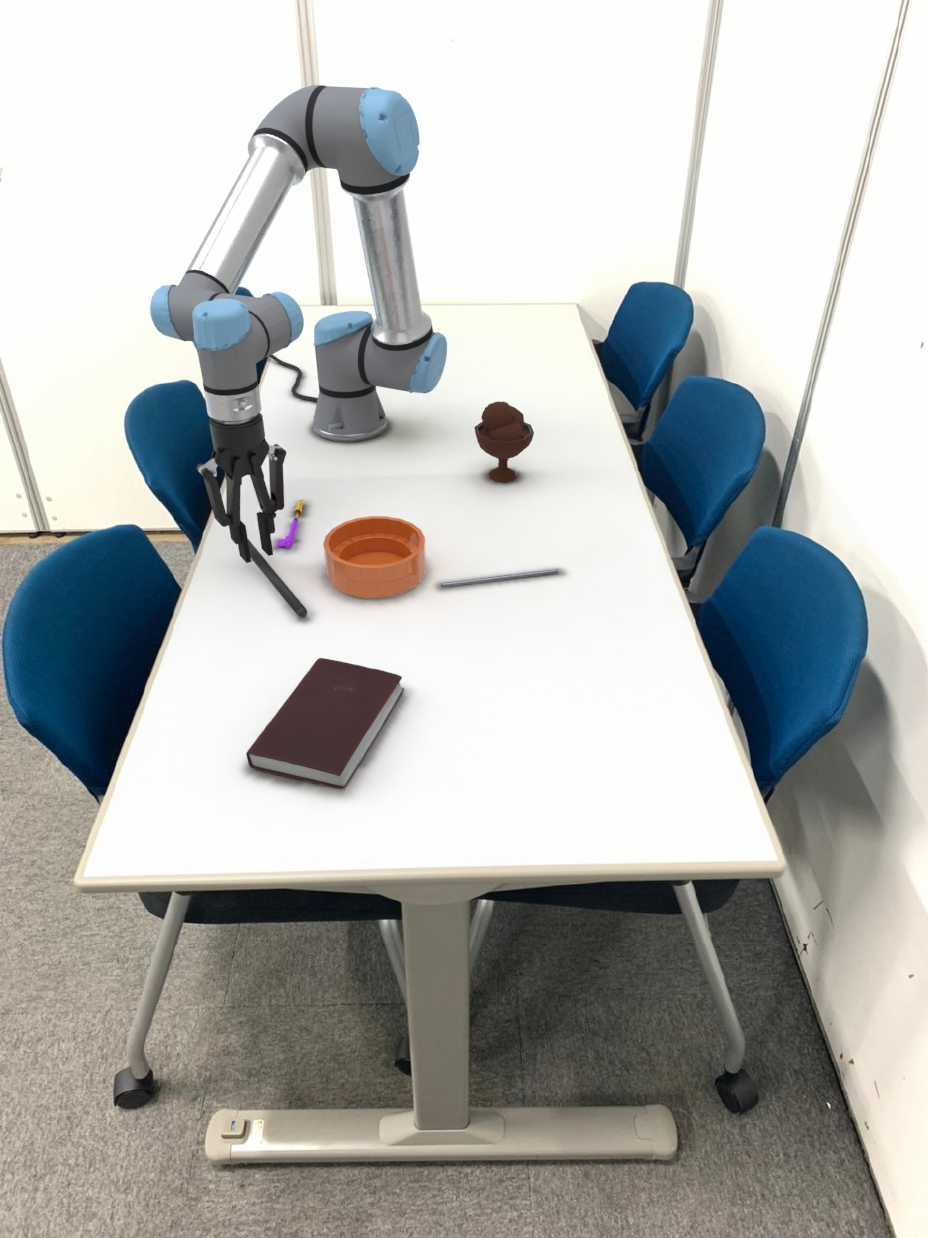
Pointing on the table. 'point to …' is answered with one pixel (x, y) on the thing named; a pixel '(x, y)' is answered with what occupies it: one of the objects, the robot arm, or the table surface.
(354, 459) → the table surface
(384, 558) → the bowl
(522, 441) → the ice cream bowl
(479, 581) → the rod
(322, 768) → the book
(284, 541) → the purple gold bent tool
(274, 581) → the stick
